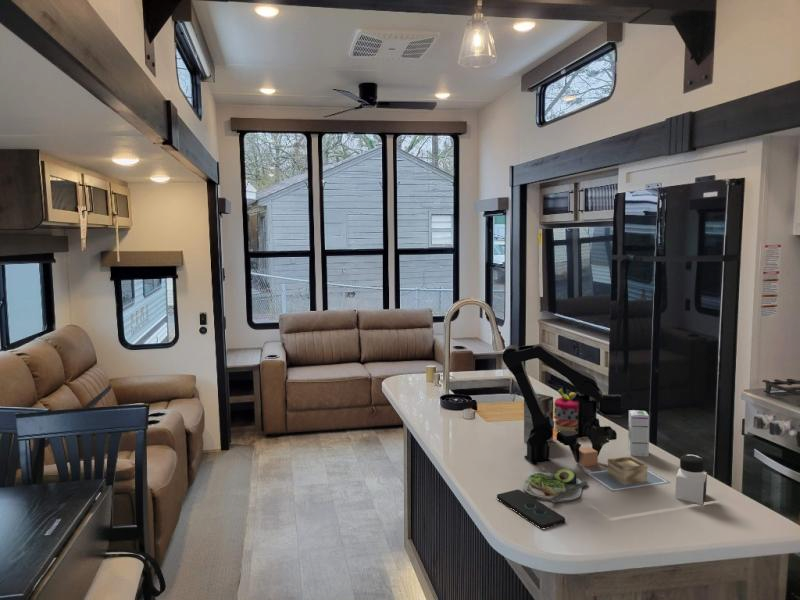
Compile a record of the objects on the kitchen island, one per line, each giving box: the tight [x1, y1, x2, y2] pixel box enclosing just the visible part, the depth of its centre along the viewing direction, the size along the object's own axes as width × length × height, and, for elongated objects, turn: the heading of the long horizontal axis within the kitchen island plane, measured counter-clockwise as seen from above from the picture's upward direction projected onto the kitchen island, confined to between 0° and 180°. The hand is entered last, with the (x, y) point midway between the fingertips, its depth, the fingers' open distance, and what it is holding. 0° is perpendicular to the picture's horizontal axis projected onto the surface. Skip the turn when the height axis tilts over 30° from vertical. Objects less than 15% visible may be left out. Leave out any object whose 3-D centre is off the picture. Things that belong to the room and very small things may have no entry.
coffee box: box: [523, 393, 554, 443], centre depth 214 cm, size 9×6×16 cm
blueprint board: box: [584, 469, 672, 493], centre depth 181 cm, size 20×14×1 cm
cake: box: [553, 388, 578, 434], centre depth 226 cm, size 10×11×15 cm
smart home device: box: [496, 489, 566, 529], centre depth 163 cm, size 8×2×20 cm
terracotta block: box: [578, 445, 599, 467], centre depth 193 cm, size 5×5×5 cm
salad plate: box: [522, 468, 589, 503], centre depth 174 cm, size 19×18×5 cm
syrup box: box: [627, 409, 650, 458], centre depth 200 cm, size 6×6×14 cm
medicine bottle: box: [674, 454, 708, 506], centre depth 167 cm, size 7×7×12 cm
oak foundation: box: [607, 455, 649, 485], centre depth 181 cm, size 8×8×5 cm
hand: (586, 461), depth 193 cm, fingers open, 6 cm apart
